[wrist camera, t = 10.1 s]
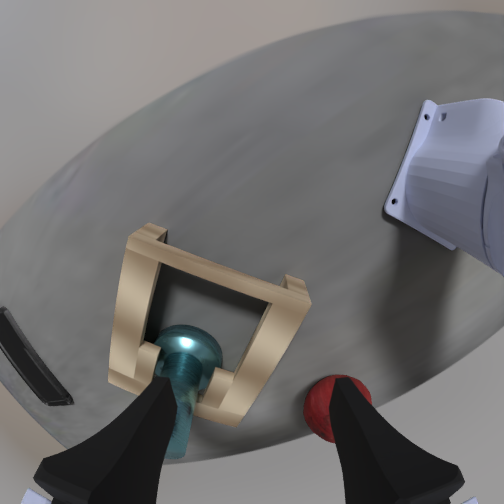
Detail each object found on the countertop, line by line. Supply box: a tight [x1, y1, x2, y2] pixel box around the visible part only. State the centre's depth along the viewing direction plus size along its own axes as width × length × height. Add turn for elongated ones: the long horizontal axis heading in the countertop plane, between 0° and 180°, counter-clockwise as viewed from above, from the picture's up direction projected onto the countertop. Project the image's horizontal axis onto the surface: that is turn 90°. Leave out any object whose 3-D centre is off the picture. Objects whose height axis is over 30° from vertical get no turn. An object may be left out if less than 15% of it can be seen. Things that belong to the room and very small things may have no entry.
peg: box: [154, 325, 222, 459], centre depth 19 cm, size 6×6×10 cm
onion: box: [303, 375, 372, 443], centre depth 20 cm, size 6×6×8 cm
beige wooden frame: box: [108, 223, 312, 427], centre depth 21 cm, size 14×12×4 cm
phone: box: [0, 306, 73, 406], centre depth 26 cm, size 8×1×15 cm
